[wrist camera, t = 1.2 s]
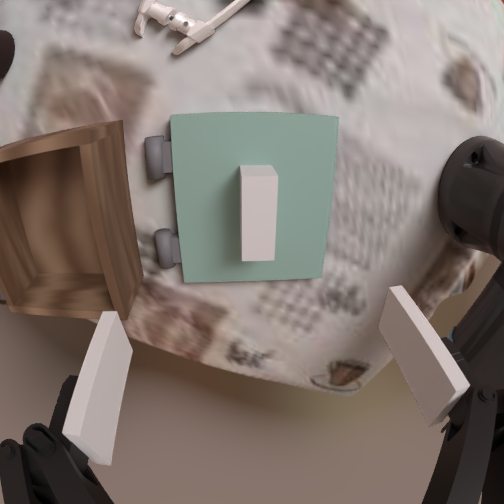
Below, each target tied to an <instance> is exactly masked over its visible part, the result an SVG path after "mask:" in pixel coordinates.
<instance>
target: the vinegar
mask: <svg viewBox="0 0 504 504" xmlns="http://www.w3.org/2000/svg"><path fill="white" fill-rule="evenodd" d="M14 49H15V44H14V39H13V37H12V35H11V34H10V33H9V32H7V31H3V30H0V79H1V78H2V77H3V76H4V74H5V73H6V72H7V71H8V69H9V67H10V65H11V63H12V59H13V56H14Z"/></svg>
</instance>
